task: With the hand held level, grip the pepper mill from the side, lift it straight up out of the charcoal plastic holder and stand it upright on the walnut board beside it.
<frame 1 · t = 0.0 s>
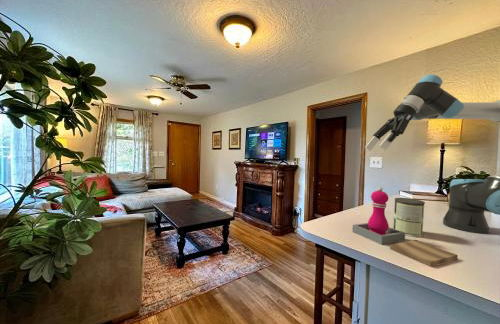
hand: (374, 148, 89), 36 cm above the counter, tool tilted 35°, fingers open, 13 cm apart
pepper mill: (377, 236, 84), resting in holder
board: (422, 253, 69), on the counter
coffee can: (407, 232, 89), on the counter
holder: (377, 235, 84), on the counter
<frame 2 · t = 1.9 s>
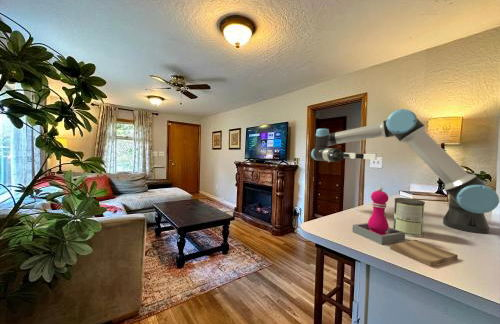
hand: (366, 156, 97), 32 cm above the counter, tool horizontal, fingers open, 13 cm apart
nothing on the counter moved.
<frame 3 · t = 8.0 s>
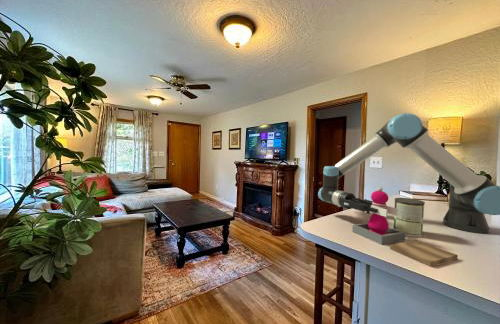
hand: (391, 212, 78), 11 cm above the counter, tool horizontal, fingers closed on pepper mill, 5 cm apart
pepper mill: (377, 236, 84), resting in holder, touching gripper
everything else where it was.
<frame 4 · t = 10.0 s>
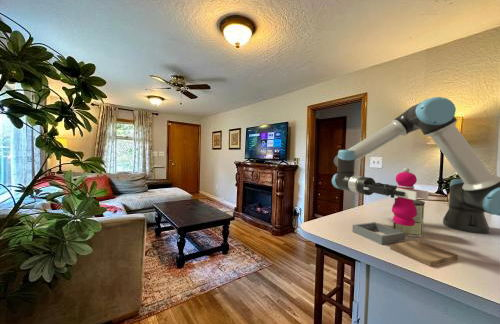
hand: (421, 195, 68), 20 cm above the counter, tool horizontal, fingers closed on pepper mill, 5 cm apart
pepper mill: (403, 223, 73), point 8 cm above the counter, touching gripper
everything else where it was.
when the fingers open (14 cm above the counter, at t = 12.4 s): pepper mill drops 1 cm, resting on board.
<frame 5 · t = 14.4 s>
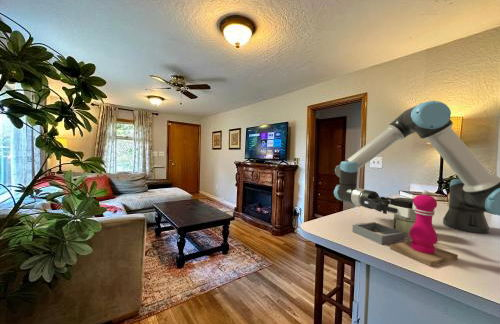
hand: (421, 211, 69), 14 cm above the counter, tool horizontal, fingers open, 13 cm apart
pepper mill: (422, 249, 69), point 1 cm above the counter, touching board
everything else where it was.
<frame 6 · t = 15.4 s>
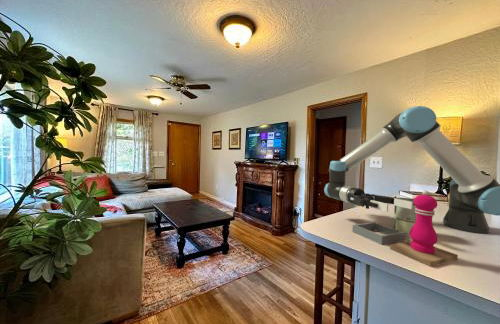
hand: (400, 206, 75), 14 cm above the counter, tool horizontal, fingers open, 13 cm apart
nothing on the counter moved.
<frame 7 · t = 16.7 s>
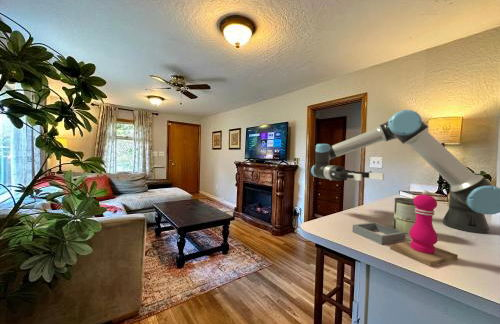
hand: (372, 177, 87), 24 cm above the counter, tool horizontal, fingers open, 13 cm apart
nothing on the counter moved.
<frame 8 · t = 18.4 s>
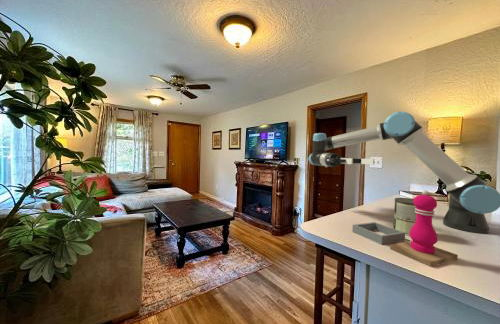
hand: (363, 161, 95), 30 cm above the counter, tool horizontal, fingers open, 13 cm apart
nothing on the counter moved.
at the end: pepper mill inside the target area on the board (0.0 cm from its centre), point 1.3 cm above the board's base; pepper mill tilted 0°; the gripper is holding nothing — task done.
